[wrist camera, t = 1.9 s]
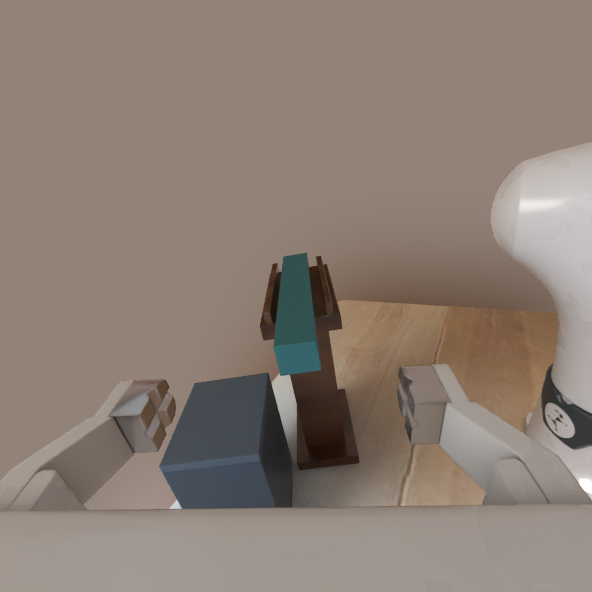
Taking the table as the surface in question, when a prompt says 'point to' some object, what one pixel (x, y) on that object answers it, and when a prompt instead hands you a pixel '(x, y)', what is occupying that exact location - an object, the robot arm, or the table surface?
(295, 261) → the teal block
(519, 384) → the table surface
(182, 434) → the slate crate
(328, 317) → the walnut stand
